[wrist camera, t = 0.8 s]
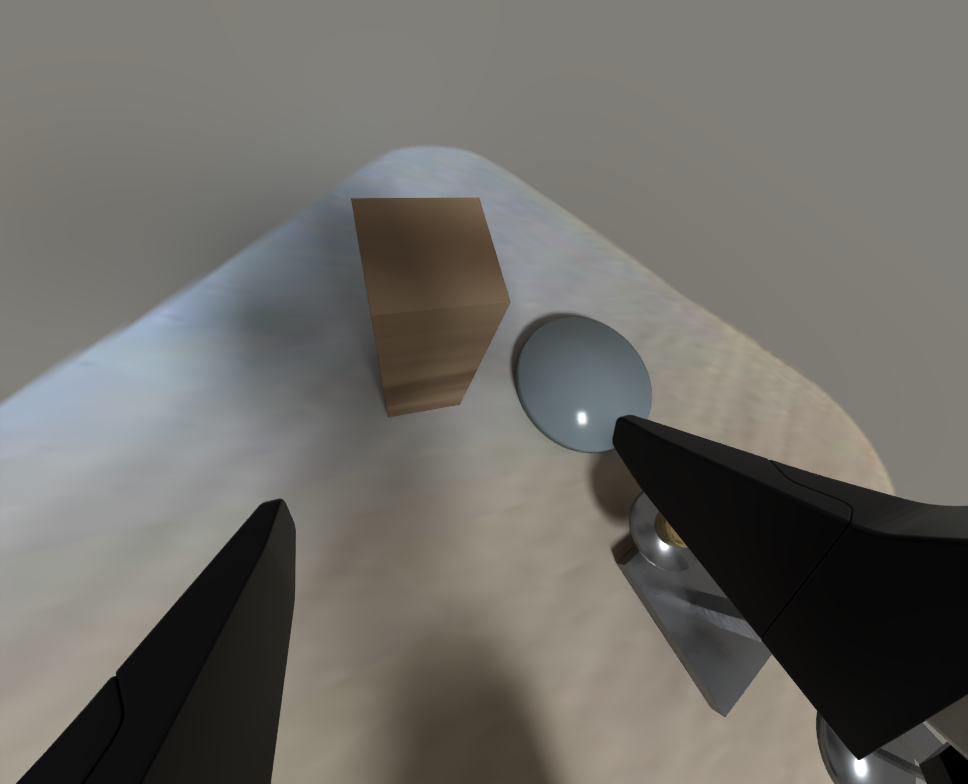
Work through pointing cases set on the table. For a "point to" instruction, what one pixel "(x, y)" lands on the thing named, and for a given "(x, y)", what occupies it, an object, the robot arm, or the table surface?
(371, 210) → the walnut block
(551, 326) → the slate dish
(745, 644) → the balance
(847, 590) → the robot arm
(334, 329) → the table surface
